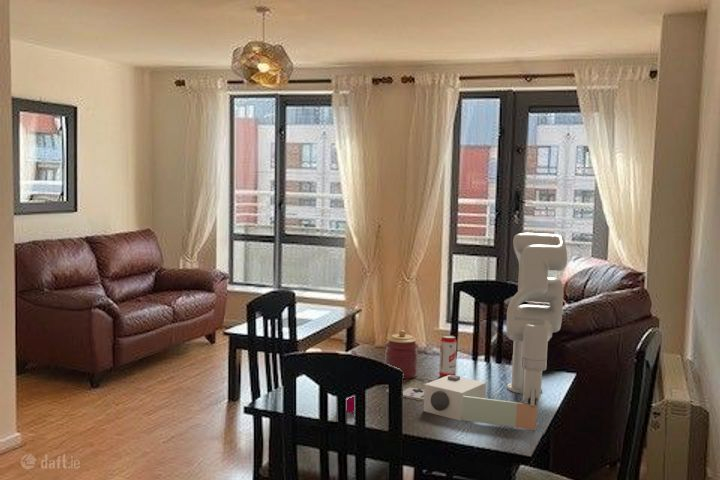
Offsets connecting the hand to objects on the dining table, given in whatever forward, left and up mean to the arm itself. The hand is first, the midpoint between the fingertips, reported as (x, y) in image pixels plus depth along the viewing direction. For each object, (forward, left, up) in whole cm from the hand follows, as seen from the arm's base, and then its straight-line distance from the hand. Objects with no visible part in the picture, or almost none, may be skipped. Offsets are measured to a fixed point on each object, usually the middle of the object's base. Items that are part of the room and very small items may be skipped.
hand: (531, 421), depth 217 cm
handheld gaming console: (-4, -42, -3) cm, 42 cm away
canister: (-22, -64, -2) cm, 68 cm away
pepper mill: (+25, -51, -2) cm, 57 cm away
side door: (+7, -8, -1) cm, 10 cm away
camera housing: (+2, -26, -2) cm, 26 cm away
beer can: (-32, -49, -2) cm, 58 cm away
